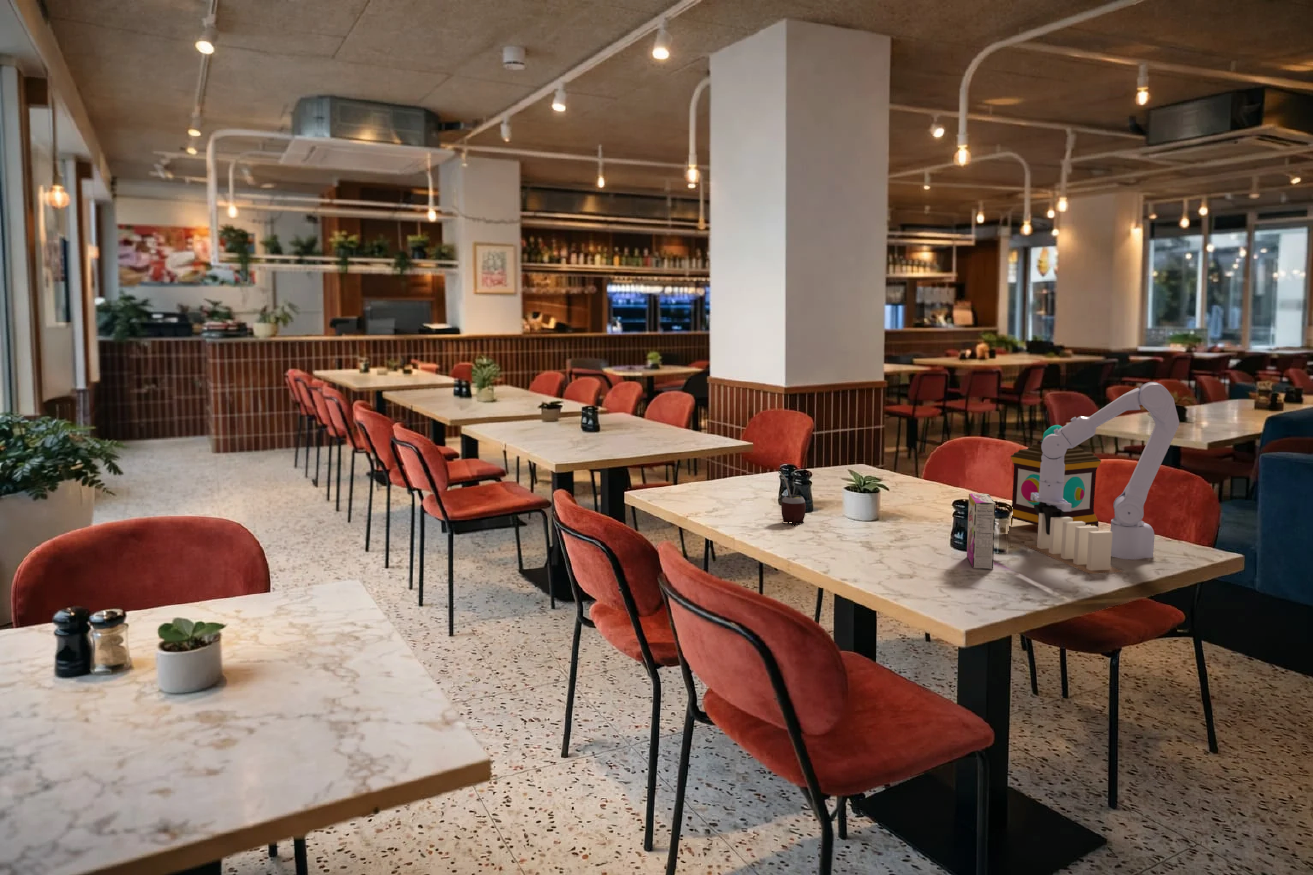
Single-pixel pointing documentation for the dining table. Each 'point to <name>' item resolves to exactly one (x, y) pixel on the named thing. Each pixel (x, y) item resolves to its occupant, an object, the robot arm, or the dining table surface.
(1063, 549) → the domino
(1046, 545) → the domino
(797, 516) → the mate gourd
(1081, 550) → the domino
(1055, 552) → the domino
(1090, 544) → the domino
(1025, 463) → the decorative lantern
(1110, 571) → the walnut board
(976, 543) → the candy bar box
